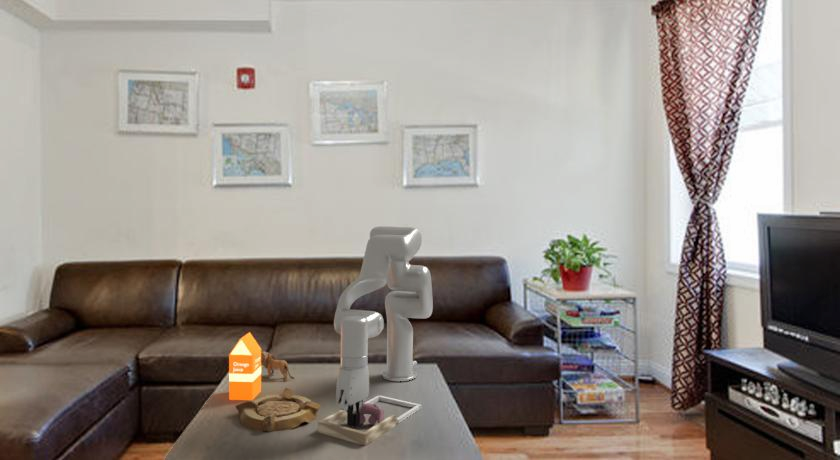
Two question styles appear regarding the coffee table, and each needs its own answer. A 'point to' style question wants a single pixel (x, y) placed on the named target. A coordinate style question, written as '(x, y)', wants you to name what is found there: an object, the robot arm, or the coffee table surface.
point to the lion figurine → (274, 365)
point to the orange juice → (245, 369)
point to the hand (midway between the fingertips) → (353, 425)
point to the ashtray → (277, 412)
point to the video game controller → (372, 409)
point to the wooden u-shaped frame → (352, 435)
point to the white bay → (395, 401)
